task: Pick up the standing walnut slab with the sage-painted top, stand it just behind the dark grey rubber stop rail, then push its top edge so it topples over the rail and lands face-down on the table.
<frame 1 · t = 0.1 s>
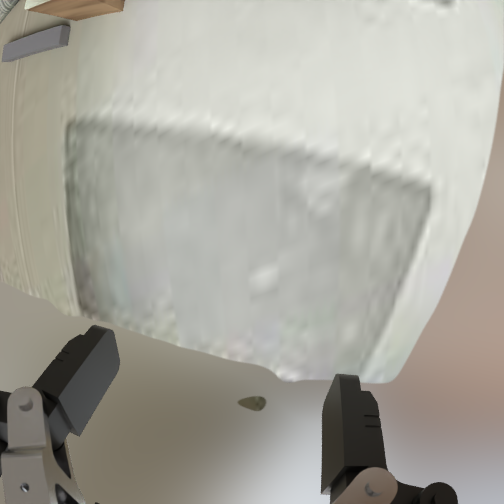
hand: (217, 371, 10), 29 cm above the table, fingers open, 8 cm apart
walnut slab: (100, 1, 28), on the table
stop rail: (37, 44, 31), on the table
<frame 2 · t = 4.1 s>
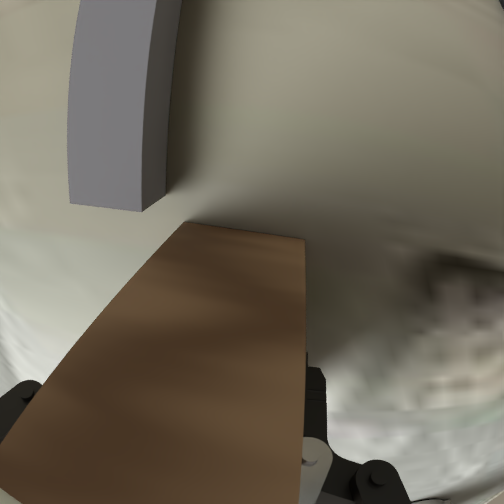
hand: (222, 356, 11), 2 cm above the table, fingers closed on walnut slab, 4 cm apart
walnut slab: (234, 318, 13), on the table, touching gripper
stop rail: (142, 13, 8), on the table
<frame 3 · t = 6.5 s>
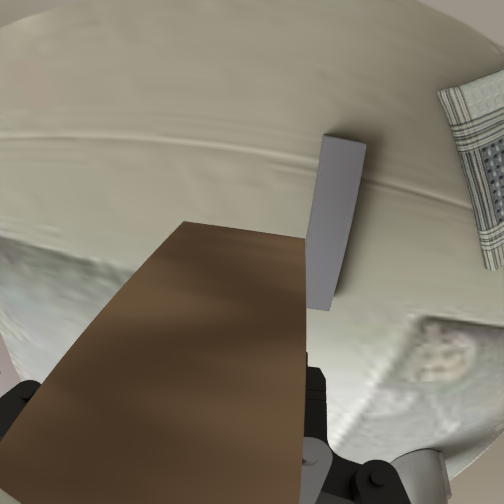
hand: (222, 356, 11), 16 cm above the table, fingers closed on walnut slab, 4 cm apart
walnut slab: (234, 318, 13), point 14 cm above the table, touching gripper
stop rail: (327, 223, 25), on the table
when the fingers open (3 cm above the table, at t = 9.3 s): walnut slab stays where it is, on the table.
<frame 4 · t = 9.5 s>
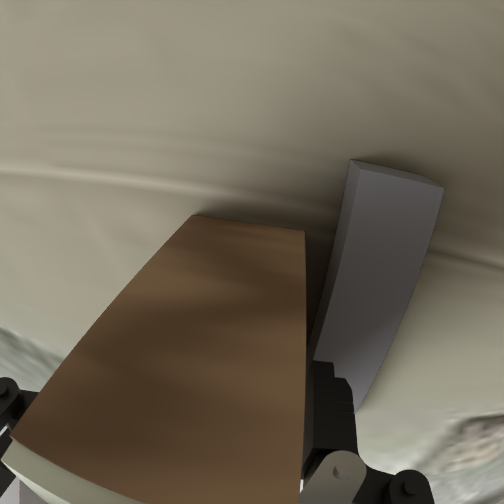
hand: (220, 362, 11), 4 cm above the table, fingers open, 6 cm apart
walnut slab: (239, 306, 14), on the table
stop rail: (347, 322, 14), on the table
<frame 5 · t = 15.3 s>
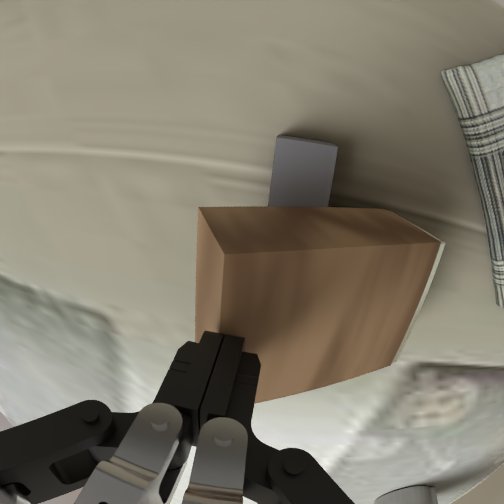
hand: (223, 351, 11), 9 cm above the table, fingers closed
walnut slab: (205, 314, 13), point 7 cm above the table, tilted 117°, touching stop rail
stop rail: (288, 255, 19), on the table
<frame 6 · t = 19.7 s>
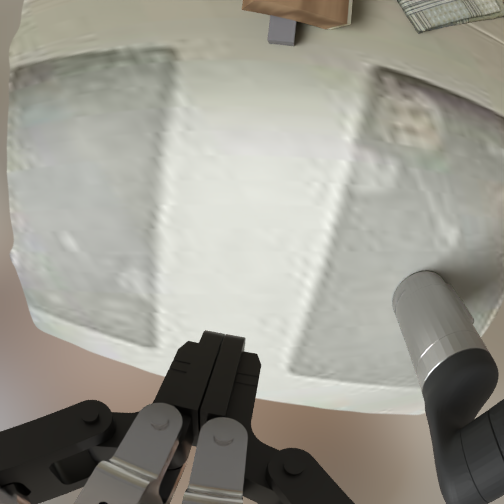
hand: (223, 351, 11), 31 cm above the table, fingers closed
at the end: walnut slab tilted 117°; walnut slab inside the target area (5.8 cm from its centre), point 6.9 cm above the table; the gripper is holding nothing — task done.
